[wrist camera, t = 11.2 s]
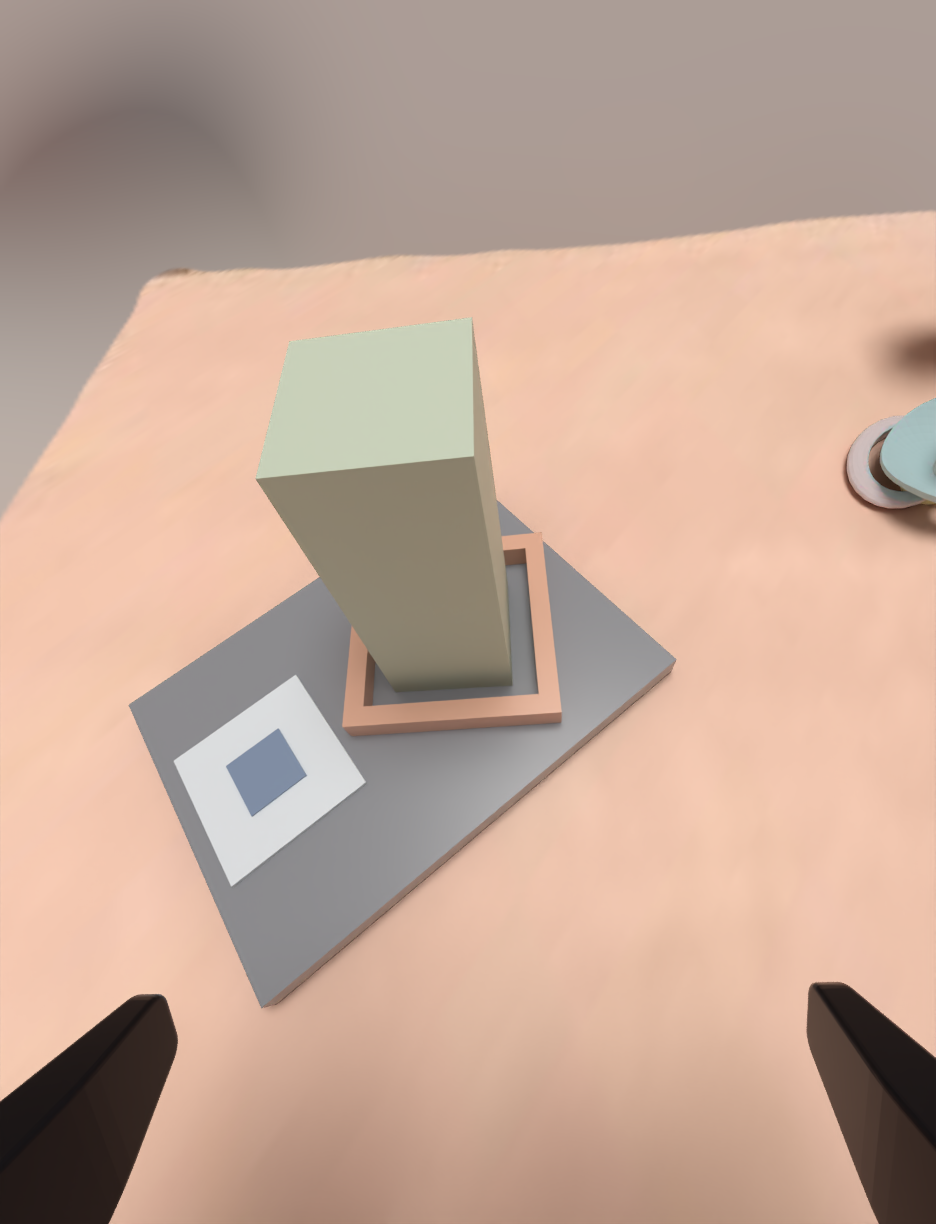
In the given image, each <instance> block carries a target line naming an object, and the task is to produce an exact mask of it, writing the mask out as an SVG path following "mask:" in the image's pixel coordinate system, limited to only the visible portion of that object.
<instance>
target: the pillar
mask: <svg viewBox="0 0 936 1224" xmlns="http://www.w3.org/2000/svg"><path fill="white" fill-rule="evenodd" d="M256 480H257V482H258V483H259V485H260V486H261V488H262V489H263V491H264V492H265V494H266V495H267V497H268V499H269V500H270V502H271V503H272V505H273V506H274V508H275V509H276V511H277V512H278V514H279V515H280V517H281V518H282V520H283V521H284V523H285V524H286V526H287V528H288V529H289V531H290V532H291V534H292V535H293V537H294V538H295V540H296V541H297V543H298V544H299V546H300V547H301V549H302V550H303V552H304V553H305V555H306V557H307V558H308V560H309V561H310V563H311V564H312V566H313V567H314V569H315V570H316V572H317V573H318V575H319V576H320V578H321V579H322V581H323V582H324V584H325V585H326V587H327V589H328V590H329V592H330V593H331V595H332V596H333V598H334V599H335V601H336V602H337V604H338V605H339V607H340V608H341V610H342V611H343V613H344V614H345V616H346V618H347V619H348V621H349V622H350V624H351V625H352V627H353V628H354V630H355V631H356V633H357V634H358V636H359V637H360V639H361V640H362V642H363V643H364V645H365V647H366V648H367V650H368V651H369V653H370V654H371V656H372V657H373V659H374V660H375V662H376V663H377V665H378V666H379V668H380V669H381V671H382V672H383V674H384V676H385V677H386V679H387V680H388V682H389V683H390V685H391V686H392V688H393V689H394V691H395V692H409V691H426V690H444V689H462V688H479V687H497V686H513V678H512V658H511V637H510V617H509V596H508V581H507V574H506V567H505V559H504V552H503V544H502V537H501V529H500V522H499V515H498V507H497V500H496V492H495V485H494V478H493V470H492V463H491V455H490V448H489V440H488V433H487V426H486V418H485V411H484V403H483V396H482V389H481V381H480V374H479V366H478V359H477V351H476V344H475V337H474V329H473V322H472V317H471V318H463V319H456V320H448V321H441V322H433V323H426V324H418V325H410V326H403V327H395V328H388V329H380V330H373V331H365V332H357V333H350V334H342V335H335V336H327V337H319V338H312V339H304V340H297V341H289V345H288V349H287V353H286V357H285V362H284V366H283V370H282V374H281V378H280V382H279V386H278V390H277V394H276V398H275V402H274V406H273V410H272V414H271V418H270V422H269V426H268V430H267V434H266V439H265V443H264V447H263V451H262V455H261V459H260V463H259V467H258V471H257V475H256Z"/></svg>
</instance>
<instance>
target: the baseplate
mask: <svg viewBox="0 0 936 1224" xmlns="http://www.w3.org/2000/svg"><path fill="white" fill-rule="evenodd" d="M497 507H498V515H499V522H500V529H501V536H509V535H519V534H529V533H533V532H532V531H531V530H530V529H529V528H528V527H527V526H525V525H524V524H523V523H522V522H521V521H520V520H519V519H518V518H516V517H515V516H514V515H513V514H512V513H511V512H510V511H509V510H507V509H506V508H505V507H504V506H503V505H502V504H501V503H500V502H498V501H497ZM543 549H544V558H545V567H546V576H547V585H548V594H549V603H550V612H551V621H552V629H553V638H554V647H555V656H556V665H557V674H558V683H559V692H560V701H561V710H562V721H561V723H547V724H532V725H517V726H502V727H486V728H471V729H456V730H441V731H425V732H410V733H395V734H380V735H364V736H351V735H350V734H349V733H348V732H347V731H346V730H345V729H344V728H343V727H342V723H343V712H344V701H345V691H346V680H347V669H348V658H349V648H350V637H351V626H352V625H351V624H350V622H349V621H348V619H347V618H346V616H345V614H344V613H343V611H342V610H341V608H340V607H339V605H338V604H337V602H336V601H335V599H334V598H333V596H332V595H331V593H330V592H329V590H328V589H327V587H326V585H325V584H324V582H323V581H322V579H321V578H320V577H319V578H318V579H316V580H315V581H313V582H312V583H310V584H309V585H307V586H306V587H304V588H303V589H301V590H300V591H298V592H297V593H295V594H294V595H292V596H291V597H289V598H288V599H286V600H285V601H283V602H282V603H280V604H279V605H277V606H276V607H274V608H273V609H271V610H270V611H268V612H267V613H265V614H264V615H262V616H261V617H259V618H258V619H256V620H255V621H253V622H252V623H250V624H249V625H247V626H246V627H244V628H243V629H241V630H240V631H238V632H237V633H235V634H234V635H232V636H231V637H229V638H228V639H226V640H225V641H223V642H222V643H220V644H219V645H217V646H216V647H214V648H213V649H211V650H210V651H208V652H207V653H206V654H204V655H203V656H201V657H200V658H198V659H197V660H195V661H194V662H192V663H191V664H189V665H188V666H186V667H185V668H183V669H182V670H180V671H179V672H177V673H176V674H174V675H173V676H171V677H170V678H168V679H167V680H165V681H164V682H162V683H161V684H159V685H158V686H156V687H155V688H153V689H152V690H150V691H149V692H147V693H146V694H144V695H143V696H141V697H140V698H138V699H137V700H135V701H134V702H132V703H131V704H129V707H130V709H131V711H132V714H133V716H134V718H135V720H136V723H137V725H138V727H139V730H140V732H141V734H142V736H143V739H144V741H145V743H146V746H147V748H148V750H149V752H150V755H151V757H152V759H153V762H154V764H155V766H156V768H157V771H158V773H159V775H160V778H161V780H162V782H163V784H164V787H165V789H166V791H167V794H168V796H169V798H170V800H171V803H172V805H173V807H174V810H175V812H176V814H177V816H178V819H179V821H180V823H181V825H182V828H183V830H184V832H185V835H186V837H187V839H188V841H189V844H190V846H191V848H192V851H193V853H194V855H195V857H196V860H197V862H198V864H199V867H200V869H201V871H202V873H203V876H204V878H205V880H206V883H207V885H208V887H209V889H210V892H211V894H212V896H213V899H214V901H215V903H216V905H217V908H218V910H219V912H220V915H221V917H222V919H223V921H224V924H225V926H226V928H227V931H228V933H229V935H230V937H231V940H232V942H233V944H234V947H235V949H236V951H237V953H238V956H239V958H240V960H241V963H242V965H243V967H244V969H245V972H246V974H247V976H248V979H249V981H250V983H251V985H252V988H253V990H254V992H255V994H256V997H257V999H258V1001H259V1004H260V1006H261V1008H263V1007H268V1006H272V1005H276V1004H278V1003H279V1002H280V1001H281V1000H282V999H284V998H285V997H286V996H287V995H288V994H289V993H291V992H292V991H293V990H294V989H295V988H297V987H298V986H299V985H300V984H301V983H302V982H304V981H305V980H306V979H307V978H308V977H310V976H311V975H312V974H313V973H314V972H316V971H317V970H318V969H319V968H320V967H321V966H323V965H324V964H325V963H326V962H327V961H329V960H330V959H331V958H332V957H333V956H334V955H336V954H337V953H338V952H339V951H340V950H342V949H343V948H344V947H345V946H346V945H348V944H349V943H350V942H351V941H352V940H353V939H355V938H356V937H357V936H358V935H359V934H361V933H362V932H363V931H364V930H365V929H366V928H368V927H369V926H370V925H371V924H372V923H374V922H375V921H376V920H377V919H378V918H380V917H381V916H382V915H383V914H384V913H385V912H387V911H388V910H389V909H390V908H391V907H393V906H394V905H395V904H396V903H397V902H398V901H400V900H401V899H402V898H403V897H404V896H406V895H407V894H408V893H409V892H410V891H412V890H413V889H414V888H415V887H416V886H417V885H419V884H420V883H421V882H422V881H423V880H425V879H426V878H427V877H428V876H429V875H430V874H432V873H433V872H434V871H435V870H436V869H438V868H439V867H440V866H441V865H442V864H444V863H445V862H446V861H447V860H448V859H449V858H451V857H452V856H453V855H454V854H455V853H457V852H458V851H459V850H460V849H461V848H462V847H464V846H465V845H466V844H467V843H468V842H470V841H471V840H472V839H473V838H474V837H476V836H477V835H478V834H479V833H480V832H481V831H483V830H484V829H485V828H486V827H487V826H489V825H490V824H491V823H492V822H493V821H495V820H496V819H497V818H498V817H499V816H500V815H502V814H503V813H504V812H505V811H506V810H508V809H509V808H510V807H511V806H512V805H513V804H515V803H516V802H517V801H518V800H519V799H521V798H522V797H523V796H524V795H525V794H527V793H528V792H529V791H530V790H531V789H532V788H534V787H535V786H536V785H537V784H538V783H540V782H541V781H542V780H543V779H544V778H545V777H547V776H548V775H549V774H550V773H551V772H553V771H554V770H555V769H556V768H557V767H559V766H560V765H561V764H562V763H563V762H564V761H566V760H567V759H568V758H569V757H570V756H572V755H573V754H574V753H575V752H576V751H577V750H579V749H580V748H581V747H582V746H583V745H585V744H586V743H587V742H588V741H589V740H591V739H592V738H593V737H594V736H595V735H596V734H598V733H599V732H600V731H601V730H602V729H604V728H605V727H606V726H607V725H608V724H609V723H611V722H612V721H613V720H614V719H615V718H617V717H618V716H619V715H620V714H621V713H623V712H624V711H625V710H626V709H627V708H628V707H630V706H631V705H632V704H633V703H634V702H636V701H637V700H638V699H639V698H640V697H641V696H643V695H644V694H645V693H646V692H647V691H649V690H650V689H651V688H652V687H653V686H655V685H656V684H657V683H658V682H659V681H660V680H662V679H663V678H664V677H665V676H666V675H668V674H669V673H670V672H671V671H672V669H673V666H674V664H675V662H676V659H675V658H674V657H673V656H672V655H671V654H670V653H669V652H667V651H666V650H665V649H664V648H663V647H662V646H661V645H660V644H658V643H657V642H656V641H655V640H654V639H653V638H652V637H651V636H649V635H648V634H647V633H646V632H645V631H644V630H643V629H641V628H640V627H639V626H638V625H637V624H636V623H635V622H634V621H632V620H631V619H630V618H629V617H628V616H627V615H626V614H625V613H623V612H622V611H621V610H620V609H619V608H618V607H617V606H616V605H614V604H613V603H612V602H611V601H610V600H609V599H608V598H607V597H605V596H604V595H603V594H602V593H601V592H600V591H599V590H598V589H596V588H595V587H594V586H593V585H592V584H591V583H590V582H589V581H587V580H586V579H585V578H584V577H583V576H582V575H581V574H580V573H578V572H577V571H576V570H575V569H574V568H573V567H572V566H571V565H569V564H568V563H567V562H566V561H565V560H564V559H563V558H562V557H560V556H559V555H558V554H557V553H556V552H555V551H554V550H553V549H551V548H550V547H549V546H548V545H547V544H546V543H545V542H544V541H543ZM505 567H506V574H507V581H508V596H509V617H510V637H511V658H512V678H513V686H497V687H479V688H462V689H444V690H426V691H409V692H395V691H394V689H393V688H392V686H391V685H390V683H389V682H388V680H387V679H386V677H385V676H384V674H383V672H382V671H381V669H380V668H379V666H378V665H377V663H376V662H375V674H374V689H373V704H372V706H376V705H390V704H404V703H418V702H432V701H446V700H461V699H475V698H489V697H503V696H517V695H531V694H538V683H537V672H536V661H535V650H534V640H533V629H532V618H531V607H530V596H529V585H528V574H527V563H525V564H514V565H505Z"/></svg>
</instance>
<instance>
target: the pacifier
mask: <svg viewBox="0 0 936 1224" xmlns="http://www.w3.org/2000/svg"><path fill="white" fill-rule="evenodd" d="M885 437H886V439H885V441H884V444H883V446H882V449H881V452H880V464H881V467H882V470H883V471H884V473H885V474H886V476H887V477H888V478H890V479H891V480H892V481H893V482H894V483H896V484H897V485H899V486H900V488H901V490H902V491H895V490H890V489H888V488H886V487H884V486H882V485H880V484H879V483H878V482H877V481H876V480H875V479H874V477H873V476H872V474H871V472H870V469H869V465H868V458H869V453H870V450H871V448H872V447H873V446H874V445H875V444H876V443H877V442H878V441H880V440H882V439H883V438H885ZM847 474H848V478H849V482H850V483H851V485H852V487H853V488H854V490H855V492H857V493H858V494H859V495H860V496H861V497H862V498H863V499H864V500H866V501H868V502H870V503H872V504H874V505H876V506H880V507H885V508H890V509H892V508H906V507H910V506H913V505H917V504H920V503H921V504H936V398H934V399H932V400H930V401H928V402H925V403H923V404H921V405H920V406H918V407H916V408H915V409H913V410H912V411H911V412H909V413H908V414H907V415H905V416H893V417H889V418H886V419H882V420H880V421H878V422H876V423H874V424H872V425H871V426H869V427H868V428H867V429H865V430H864V431H863V432H862V433H861V434H860V435H859V436H858V437H857V438H856V440H855V441H854V443H853V444H852V446H851V448H850V451H849V454H848V457H847Z"/></svg>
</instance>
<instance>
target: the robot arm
mask: <svg viewBox="0 0 936 1224" xmlns="http://www.w3.org/2000/svg"><path fill="white" fill-rule="evenodd" d="M807 1038H808V1043H809V1047H810V1050H811V1053H812V1056H813V1058H814V1061H815V1063H816V1066H817V1069H818V1071H819V1074H820V1077H821V1079H822V1082H823V1084H824V1087H825V1090H826V1092H827V1095H828V1097H829V1100H830V1103H831V1105H832V1108H833V1110H834V1113H835V1116H836V1118H837V1121H838V1123H839V1126H840V1129H841V1131H842V1134H843V1136H844V1139H845V1142H846V1144H847V1147H848V1149H849V1152H850V1155H851V1157H852V1160H853V1162H854V1165H855V1168H856V1170H857V1173H858V1175H859V1178H860V1180H861V1183H862V1185H863V1188H864V1190H865V1193H866V1195H867V1198H868V1200H869V1203H870V1205H871V1208H872V1210H873V1212H874V1214H875V1216H876V1219H877V1221H878V1223H879V1224H936V1057H934V1056H933V1055H932V1054H931V1053H929V1052H928V1051H927V1050H926V1049H925V1048H923V1047H922V1046H921V1045H920V1044H919V1043H917V1042H916V1041H915V1040H914V1039H913V1038H911V1037H910V1036H909V1035H908V1034H907V1033H905V1032H904V1031H903V1030H902V1029H901V1028H899V1027H898V1026H897V1025H896V1024H895V1023H893V1022H892V1021H891V1020H890V1019H889V1018H887V1017H886V1016H885V1015H884V1014H883V1013H881V1012H880V1011H879V1010H878V1009H877V1008H875V1007H874V1006H873V1005H872V1004H870V1003H869V1002H868V1001H867V1000H866V999H864V998H863V997H862V996H861V995H860V994H858V993H857V992H856V991H855V990H854V989H852V988H851V987H850V986H848V985H846V984H844V983H841V982H816V983H812V984H811V986H810V987H809V992H808V1011H807ZM177 1044H178V1036H177V1032H176V1029H175V1025H174V1022H173V1019H172V1016H171V1013H170V1009H169V1006H168V1003H167V1000H166V998H165V997H164V996H162V995H160V994H141V995H136V996H134V997H132V998H130V999H129V1000H127V1001H126V1002H125V1003H123V1004H122V1005H121V1006H120V1007H118V1008H117V1009H116V1010H115V1011H113V1012H112V1013H111V1014H110V1015H108V1016H107V1017H106V1018H105V1019H103V1020H102V1021H101V1022H100V1023H98V1024H97V1025H96V1026H95V1027H93V1028H92V1029H91V1030H89V1031H88V1032H87V1033H86V1034H84V1035H83V1036H82V1037H81V1038H79V1039H78V1040H77V1041H76V1042H74V1043H73V1044H72V1045H71V1046H69V1047H68V1048H67V1049H66V1050H64V1051H63V1052H62V1053H61V1054H59V1055H58V1056H57V1057H56V1058H54V1059H53V1060H52V1061H51V1062H49V1063H48V1064H47V1065H45V1066H44V1067H43V1068H42V1069H40V1070H39V1071H38V1072H37V1073H35V1074H34V1075H33V1076H32V1077H30V1078H29V1079H28V1080H27V1081H25V1082H24V1083H23V1084H22V1085H20V1086H19V1087H18V1088H17V1089H15V1090H14V1091H13V1092H12V1093H10V1094H9V1095H8V1096H7V1097H5V1098H4V1099H3V1100H2V1101H0V1224H109V1222H110V1220H111V1218H112V1216H113V1213H114V1211H115V1209H116V1207H117V1204H118V1202H119V1200H120V1198H121V1195H122V1193H123V1191H124V1188H125V1186H126V1183H127V1181H128V1179H129V1176H130V1174H131V1171H132V1169H133V1166H134V1164H135V1161H136V1158H137V1156H138V1153H139V1150H140V1148H141V1145H142V1142H143V1140H144V1137H145V1135H146V1132H147V1129H148V1127H149V1124H150V1121H151V1119H152V1116H153V1113H154V1111H155V1108H156V1106H157V1103H158V1100H159V1098H160V1095H161V1092H162V1090H163V1087H164V1084H165V1082H166V1079H167V1077H168V1074H169V1071H170V1069H171V1066H172V1063H173V1061H174V1058H175V1055H176V1051H177Z"/></svg>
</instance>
